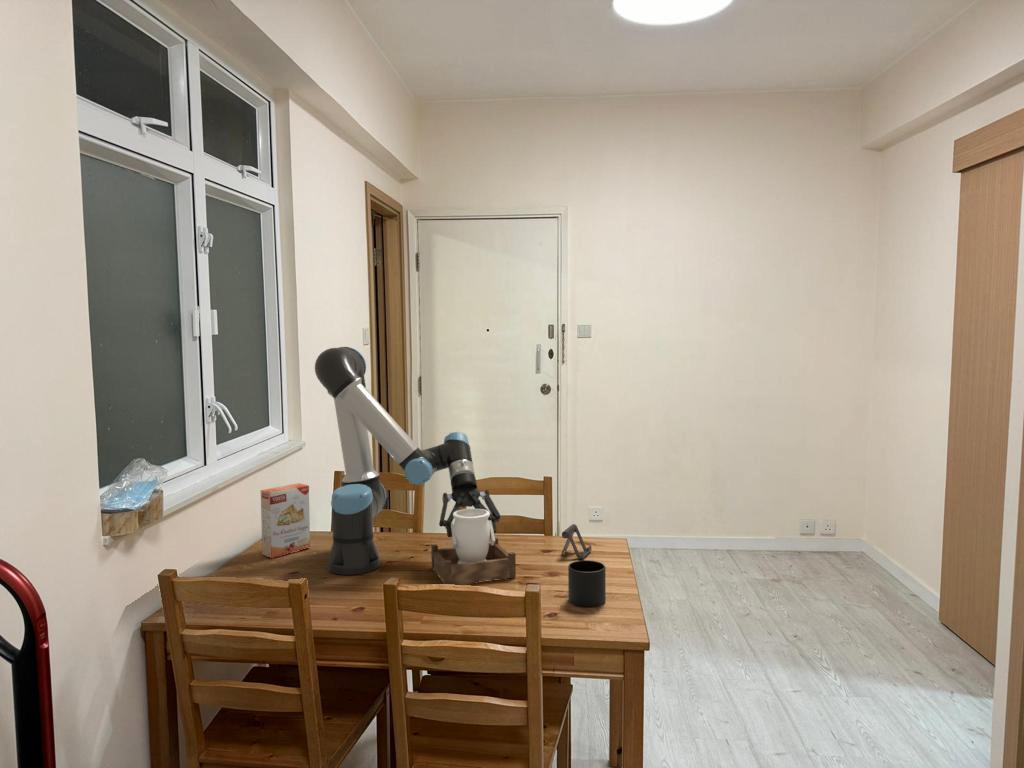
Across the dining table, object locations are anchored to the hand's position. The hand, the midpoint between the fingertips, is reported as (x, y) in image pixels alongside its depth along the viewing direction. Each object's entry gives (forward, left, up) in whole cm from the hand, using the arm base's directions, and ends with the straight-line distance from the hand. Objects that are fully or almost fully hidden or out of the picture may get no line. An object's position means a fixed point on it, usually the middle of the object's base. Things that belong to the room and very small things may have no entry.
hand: (474, 544), depth 204 cm
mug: (+22, -27, -9) cm, 36 cm away
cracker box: (-49, +43, -9) cm, 66 cm away
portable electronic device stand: (+34, +7, -10) cm, 36 cm away
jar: (0, +3, -7) cm, 7 cm away
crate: (0, +3, -9) cm, 10 cm away
